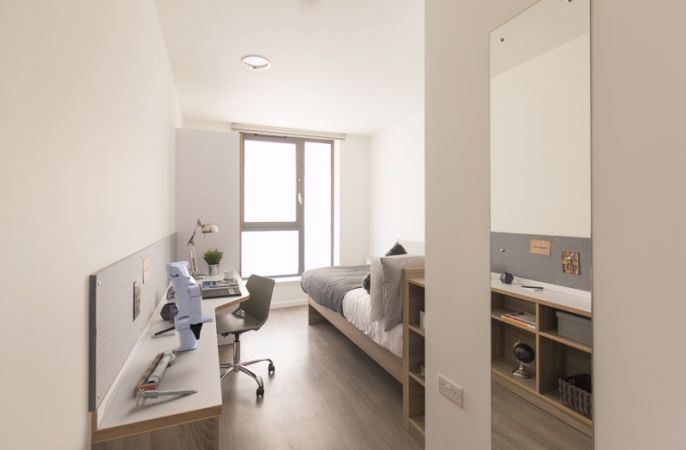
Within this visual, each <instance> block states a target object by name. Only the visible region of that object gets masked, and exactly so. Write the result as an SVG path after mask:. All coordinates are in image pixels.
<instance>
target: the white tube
mask: <svg viewBox="0 0 686 450" xmlns="http://www.w3.org/2000/svg"><path fill="white" fill-rule="evenodd" d="M172 351H173V350H172V349H166V350H165V351H163V352H164V357H163V359H162V360H161V362H160V363H159V365H158V366H157V368H156V369H155V371H154V372H153V374H152V375H151V376H150V377H149V378H148V382H147V383H146V384H151V383H156V387H158V384H159V383H160V382H161V379H162V377H163V375H164V372H165V370H166V369H167V367H169V366H172V365H173V364H175V363H176V358H177V357H176V356H177V355H176V356H175V354H176V353H175V354H173V352H172Z"/></svg>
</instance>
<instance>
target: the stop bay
mask: <svg viewBox="0 0 686 450" xmlns="http://www.w3.org/2000/svg"><path fill="white" fill-rule="evenodd" d="M164 352H165V351H162V352H161V353H157V355H156V356H155V357H154V358H153V360H152V361H151V363H150V365H149V366H148V367H147V369H146V370H145V371H144V374H143V375H142V376H141V378H140V379H139V381H137V383H136V385H135V386H134V387H133V396H135V397H136V395H137V392H139V389H141V391H142V390H143V388H144V390H143V392H145V391H153V390H158V389H157V386H156V383H151V384H146V383H147V382H148V378H149V377H150V376H151V375H152V374H153V372H154V371H155V369H156V368H157V366H158V365H159V363H160V362H161V360H162V359H163V357H164ZM172 352H173V354H175V356H177V354H176V350H175V349H174V350H172Z"/></svg>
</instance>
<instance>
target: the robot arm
mask: <svg viewBox="0 0 686 450" xmlns="http://www.w3.org/2000/svg"><path fill="white" fill-rule="evenodd" d="M165 267H166V268H165V270H166V274H167V275H166V276H167V279H168V281H171V282H172V284H173V288H174V294H176V299H177V301H176V302H177V309H178V310H179V313H178V314H177V315H176V316H175V318H174V317H173V321H174V328H175V329H174V330H175V331H176V332H177V333H178V334H179V335H178V336H179V345H180V347H179V349H177V351H178V352H182V351H189V350H196V348H197V346H198V344H199V341H200V339H201V331H202V328H203V324H206V323H210V324H211V323H214V318H213V317H212V316H210V317H203V316H202V315H203V307H202V296H203V287H202V285H201V283H199V282H196V280H195V278H194V277H193V276H192V275H190V274H189V272H190V264H189V262H188V261H187V260H183V261H177V262H175V261H174V262H167V264H166V266H165ZM187 316H189V317H187ZM183 317H185V318H183ZM179 318H181V319H179Z"/></svg>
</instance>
